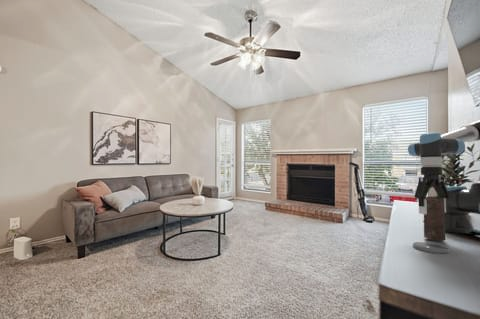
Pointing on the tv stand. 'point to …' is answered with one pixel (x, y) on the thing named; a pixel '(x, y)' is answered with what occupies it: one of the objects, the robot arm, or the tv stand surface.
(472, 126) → the robot arm
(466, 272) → the tv stand surface
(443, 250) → the coaster
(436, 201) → the candle
